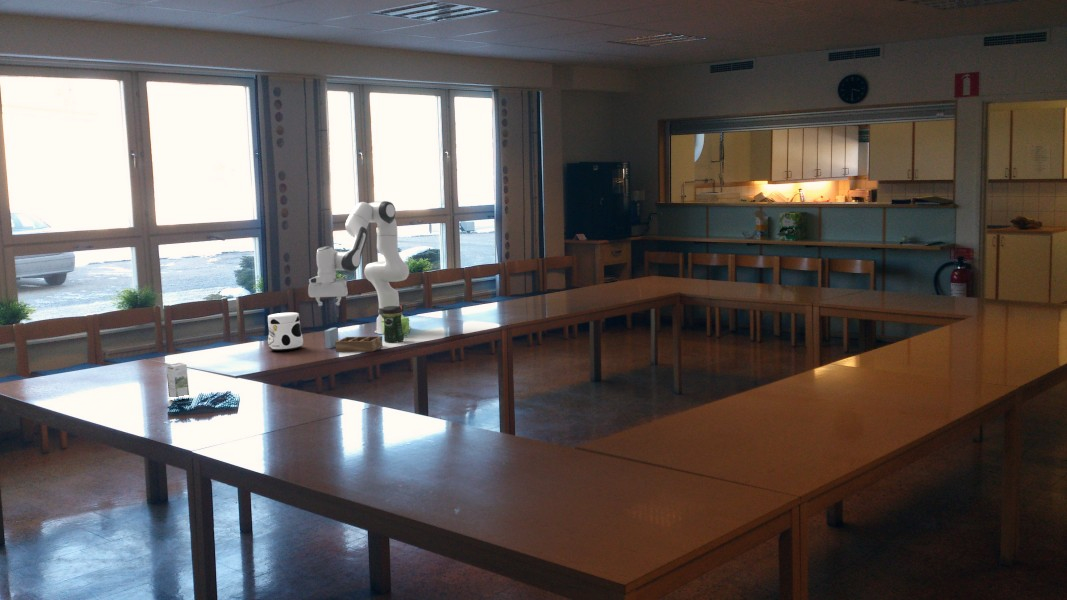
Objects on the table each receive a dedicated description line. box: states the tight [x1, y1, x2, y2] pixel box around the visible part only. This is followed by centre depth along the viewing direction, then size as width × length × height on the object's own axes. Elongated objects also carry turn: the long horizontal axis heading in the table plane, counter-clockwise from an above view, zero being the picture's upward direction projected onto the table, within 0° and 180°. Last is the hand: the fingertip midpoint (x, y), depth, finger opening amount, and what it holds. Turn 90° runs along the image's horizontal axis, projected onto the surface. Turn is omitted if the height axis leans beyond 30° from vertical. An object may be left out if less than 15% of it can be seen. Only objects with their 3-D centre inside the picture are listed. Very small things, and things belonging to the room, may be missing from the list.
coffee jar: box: [382, 305, 405, 343], centre depth 490 cm, size 10×8×19 cm
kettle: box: [382, 316, 411, 337], centre depth 507 cm, size 15×14×11 cm
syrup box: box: [165, 362, 190, 398], centre depth 379 cm, size 6×6×14 cm
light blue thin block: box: [323, 327, 340, 349], centre depth 485 cm, size 10×3×9 cm, turn 168°
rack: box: [335, 335, 383, 353], centre depth 474 cm, size 14×19×5 cm
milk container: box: [267, 312, 304, 352], centre depth 482 cm, size 17×17×18 cm
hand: (329, 305), depth 483 cm, fingers open, 8 cm apart
